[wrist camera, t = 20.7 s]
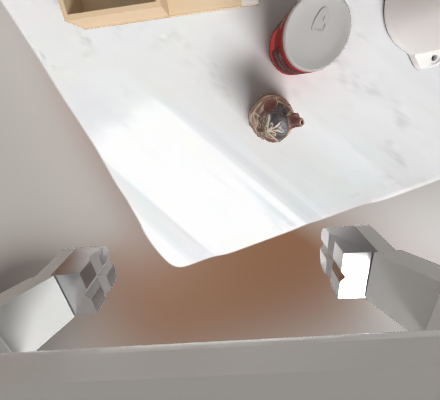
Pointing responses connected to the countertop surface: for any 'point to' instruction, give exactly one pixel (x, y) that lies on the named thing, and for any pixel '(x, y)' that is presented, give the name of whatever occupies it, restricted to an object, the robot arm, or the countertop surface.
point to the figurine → (273, 118)
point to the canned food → (310, 36)
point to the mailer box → (138, 10)
